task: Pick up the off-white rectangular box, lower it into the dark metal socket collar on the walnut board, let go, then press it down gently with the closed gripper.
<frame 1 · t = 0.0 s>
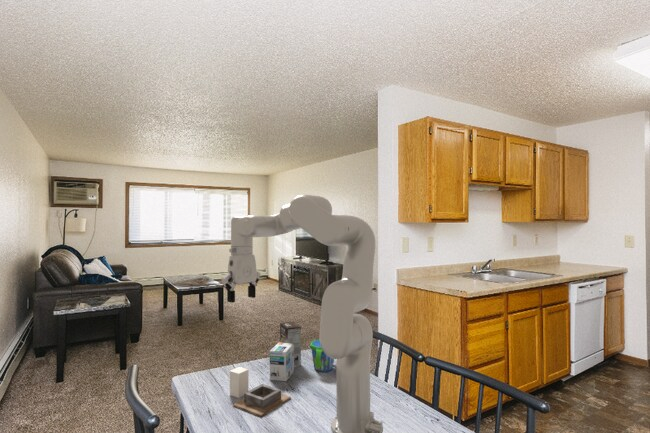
hand: (241, 299, 128), 31 cm above the table, tool pointing down, fingers open, 9 cm apart
off-white rectangular box: (239, 393, 123), on the table
socket: (262, 402, 117), on the table
light bulb box: (282, 375, 139), on the table
snack cup: (323, 369, 145), on the table
coffee box: (290, 363, 151), on the table
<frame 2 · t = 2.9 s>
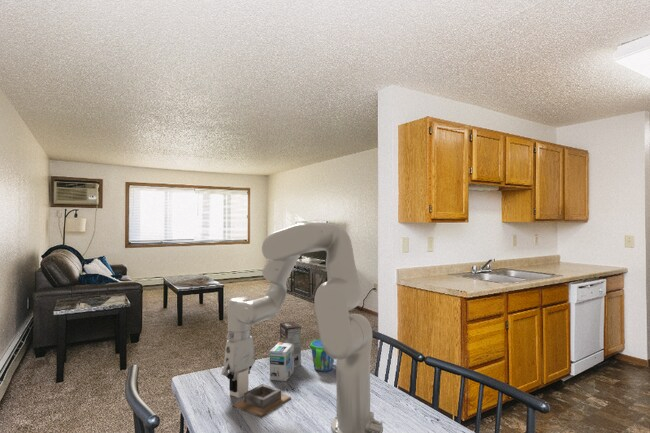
hand: (239, 387, 123), 2 cm above the table, tool pointing down, fingers closed on off-white rectangular box, 4 cm apart
off-white rectangular box: (239, 393, 123), on the table, touching gripper
everything else where it was.
when the fingers open (5 cm above the table, at t = 7.4 s): off-white rectangular box drops 2 cm, resting on socket.
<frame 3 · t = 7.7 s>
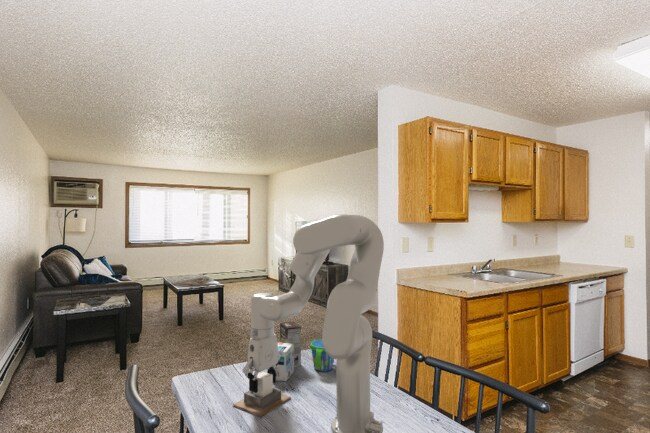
hand: (262, 386, 117), 5 cm above the table, tool pointing down, fingers open, 7 cm apart
off-white rectangular box: (262, 400, 117), point 1 cm above the table, touching socket
everything else where it was.
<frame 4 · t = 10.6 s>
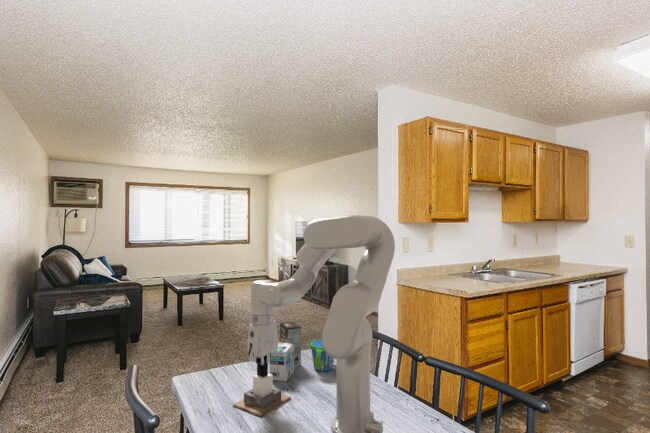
hand: (262, 375, 118), 9 cm above the table, tool pointing down, fingers closed
off-white rectangular box: (262, 400, 117), point 1 cm above the table, touching gripper, socket
everything else where it was.
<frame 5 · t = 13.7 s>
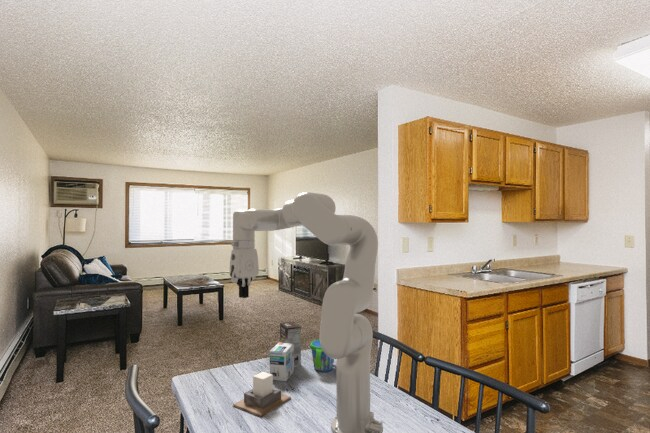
hand: (243, 297, 127), 32 cm above the table, tool pointing down, fingers closed
off-white rectangular box: (262, 400, 117), point 1 cm above the table, touching socket
everything else where it was.
at the end: off-white rectangular box 0.1 cm off-centre on the socket, point 0.6 cm above the socket's base; off-white rectangular box tilted 0°; the gripper is holding nothing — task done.
